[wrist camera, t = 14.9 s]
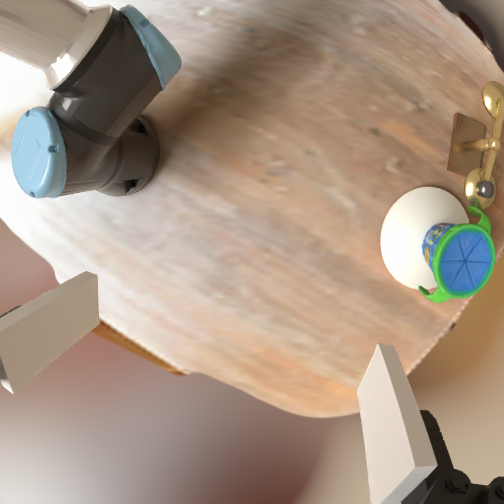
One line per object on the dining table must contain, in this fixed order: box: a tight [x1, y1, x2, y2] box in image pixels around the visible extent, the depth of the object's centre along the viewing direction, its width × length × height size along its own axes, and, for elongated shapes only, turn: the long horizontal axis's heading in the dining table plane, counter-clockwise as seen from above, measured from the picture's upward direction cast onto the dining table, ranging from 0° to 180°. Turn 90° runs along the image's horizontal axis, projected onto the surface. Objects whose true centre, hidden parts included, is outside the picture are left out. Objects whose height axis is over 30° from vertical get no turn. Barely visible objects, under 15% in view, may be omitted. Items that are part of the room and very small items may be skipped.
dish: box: [380, 187, 469, 289], centre depth 44 cm, size 17×17×1 cm
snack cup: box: [418, 206, 495, 303], centre depth 38 cm, size 16×10×10 cm
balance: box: [447, 81, 504, 209], centre depth 34 cm, size 6×20×11 cm, turn 170°
